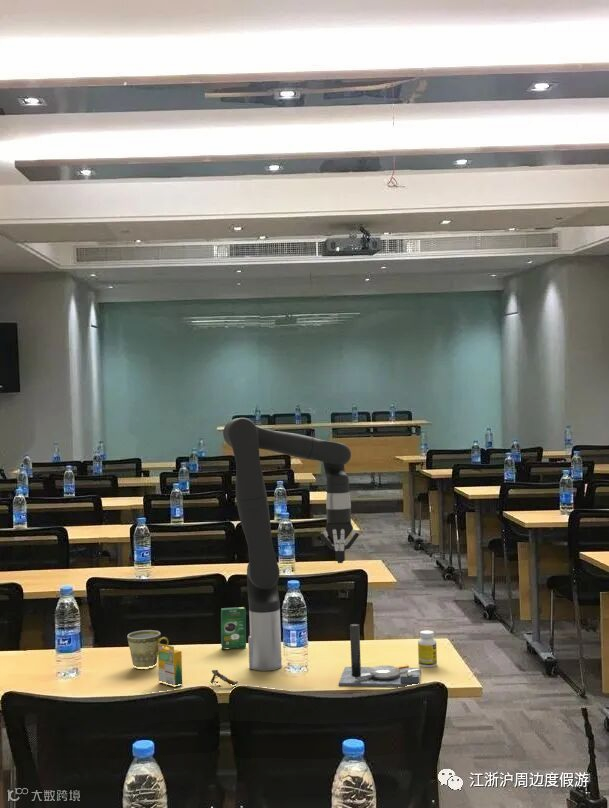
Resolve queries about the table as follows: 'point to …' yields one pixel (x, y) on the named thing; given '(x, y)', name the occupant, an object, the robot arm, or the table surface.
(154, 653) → the ceramic cup
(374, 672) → the upright bar with disc
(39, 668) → the table surface
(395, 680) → the base plate
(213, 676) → the wooden post with brackets
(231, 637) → the coffee box
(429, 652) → the supplement bottle
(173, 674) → the crayon box
